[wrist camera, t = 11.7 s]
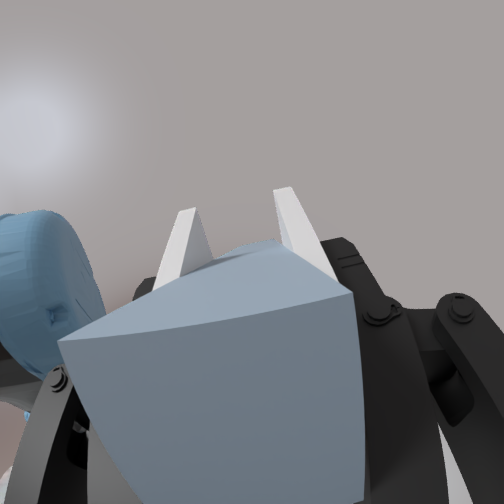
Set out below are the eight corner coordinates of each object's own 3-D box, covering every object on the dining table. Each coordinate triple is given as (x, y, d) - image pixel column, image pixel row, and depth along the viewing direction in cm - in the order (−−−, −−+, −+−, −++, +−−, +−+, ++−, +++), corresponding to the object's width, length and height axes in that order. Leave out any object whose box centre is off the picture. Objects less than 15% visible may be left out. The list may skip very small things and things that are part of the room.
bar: (363, 499, 3) (353, 292, 2) (152, 515, 3) (56, 340, 3) (280, 270, 29) (273, 238, 28) (248, 277, 29) (241, 245, 29)
